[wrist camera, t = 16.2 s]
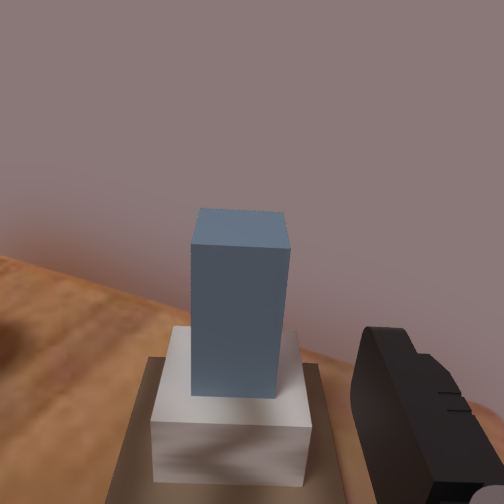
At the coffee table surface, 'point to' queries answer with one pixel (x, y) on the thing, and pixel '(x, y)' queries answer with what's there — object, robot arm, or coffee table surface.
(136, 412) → the tower base
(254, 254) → the slate brick
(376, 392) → the robot arm
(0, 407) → the coffee table surface
